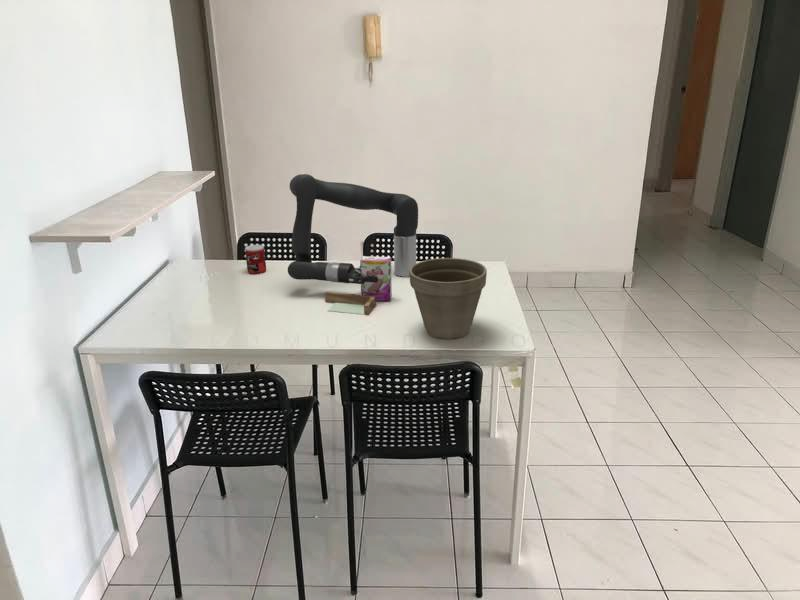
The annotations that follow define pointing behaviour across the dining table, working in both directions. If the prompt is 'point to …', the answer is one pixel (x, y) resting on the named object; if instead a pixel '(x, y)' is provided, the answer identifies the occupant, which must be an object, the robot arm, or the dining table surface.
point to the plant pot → (447, 294)
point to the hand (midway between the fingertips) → (381, 275)
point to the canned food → (255, 259)
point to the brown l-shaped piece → (352, 300)
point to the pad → (347, 308)
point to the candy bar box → (383, 272)
